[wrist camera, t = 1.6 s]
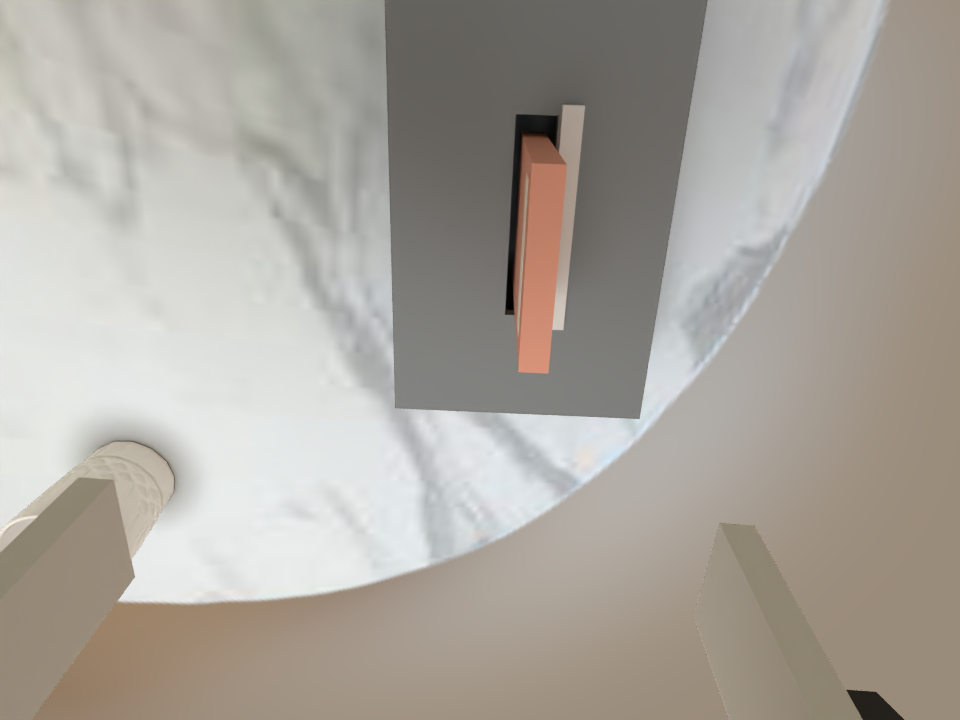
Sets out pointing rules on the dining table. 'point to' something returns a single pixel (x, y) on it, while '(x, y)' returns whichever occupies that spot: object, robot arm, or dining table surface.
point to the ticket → (537, 248)
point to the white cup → (137, 485)
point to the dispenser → (494, 187)
